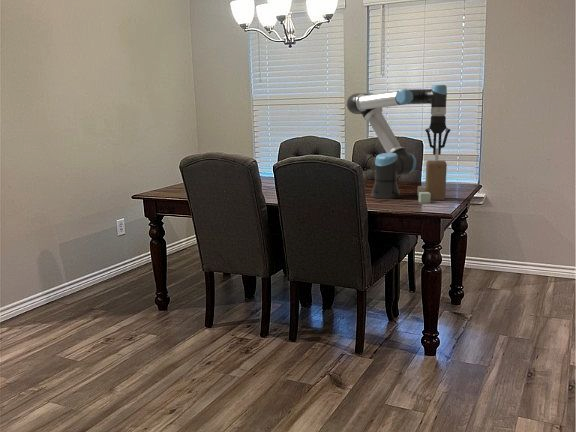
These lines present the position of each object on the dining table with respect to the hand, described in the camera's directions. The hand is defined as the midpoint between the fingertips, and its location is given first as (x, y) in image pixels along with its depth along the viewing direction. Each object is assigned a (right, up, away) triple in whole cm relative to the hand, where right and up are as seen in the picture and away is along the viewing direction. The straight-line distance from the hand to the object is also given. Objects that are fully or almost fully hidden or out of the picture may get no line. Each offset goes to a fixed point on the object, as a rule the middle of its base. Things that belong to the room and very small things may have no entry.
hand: (436, 161), depth 299 cm
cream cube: (-4, -18, +15) cm, 23 cm away
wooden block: (0, -20, +4) cm, 21 cm away
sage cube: (-7, -22, -4) cm, 23 cm away
